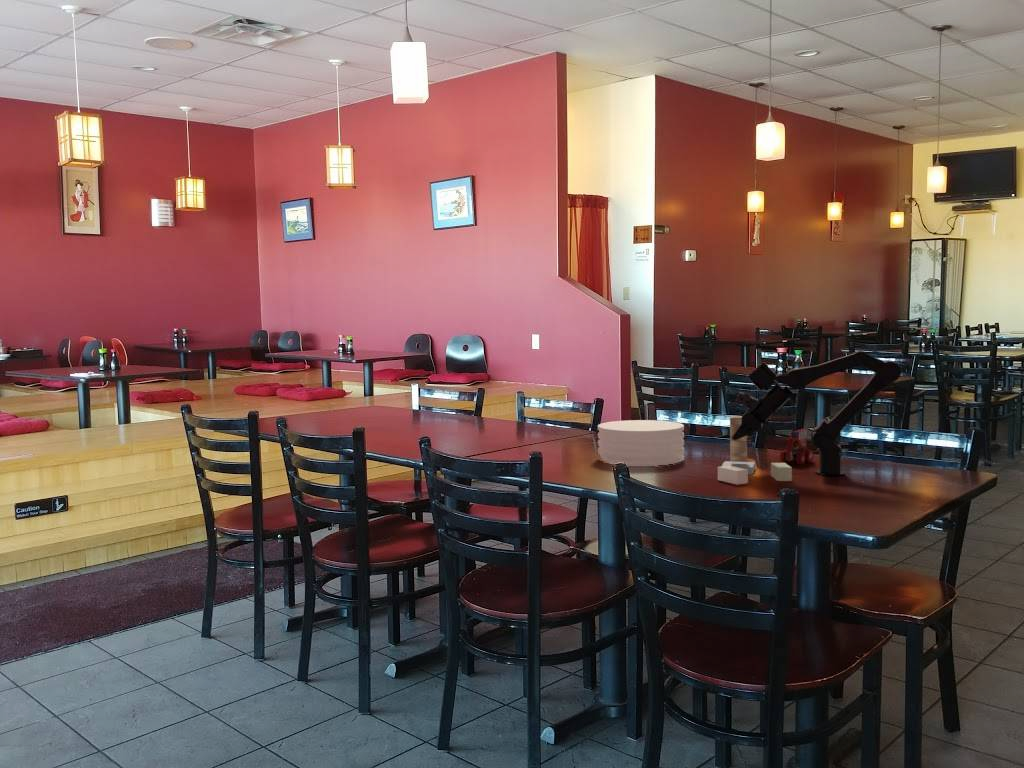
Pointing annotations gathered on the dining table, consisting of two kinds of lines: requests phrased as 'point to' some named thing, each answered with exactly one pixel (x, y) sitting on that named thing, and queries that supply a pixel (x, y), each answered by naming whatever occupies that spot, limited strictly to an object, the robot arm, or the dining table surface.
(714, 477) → the dining table surface
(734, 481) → the cream brick
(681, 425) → the plate stack
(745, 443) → the birch pillar
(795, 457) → the toy fire truck
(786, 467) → the sage brick
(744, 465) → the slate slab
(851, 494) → the dining table surface
